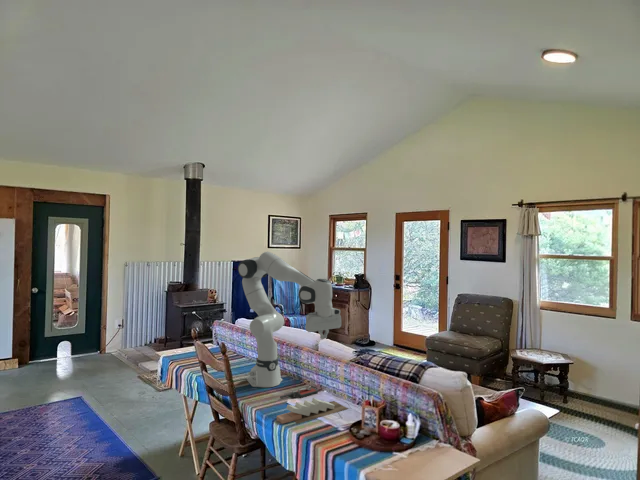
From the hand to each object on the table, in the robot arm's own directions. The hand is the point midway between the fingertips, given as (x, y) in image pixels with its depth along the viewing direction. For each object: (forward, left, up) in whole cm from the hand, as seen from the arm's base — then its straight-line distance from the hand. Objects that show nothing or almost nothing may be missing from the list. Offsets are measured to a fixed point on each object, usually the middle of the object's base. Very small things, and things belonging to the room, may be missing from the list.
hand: (323, 338), depth 215 cm
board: (+12, -12, -31) cm, 35 cm away
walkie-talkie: (-11, -8, -32) cm, 34 cm away
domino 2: (+12, -18, -29) cm, 36 cm away
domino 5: (+12, -4, -29) cm, 32 cm away
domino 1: (+12, -22, -29) cm, 39 cm away
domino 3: (+12, -13, -29) cm, 34 cm away
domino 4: (+12, -9, -29) cm, 33 cm away
